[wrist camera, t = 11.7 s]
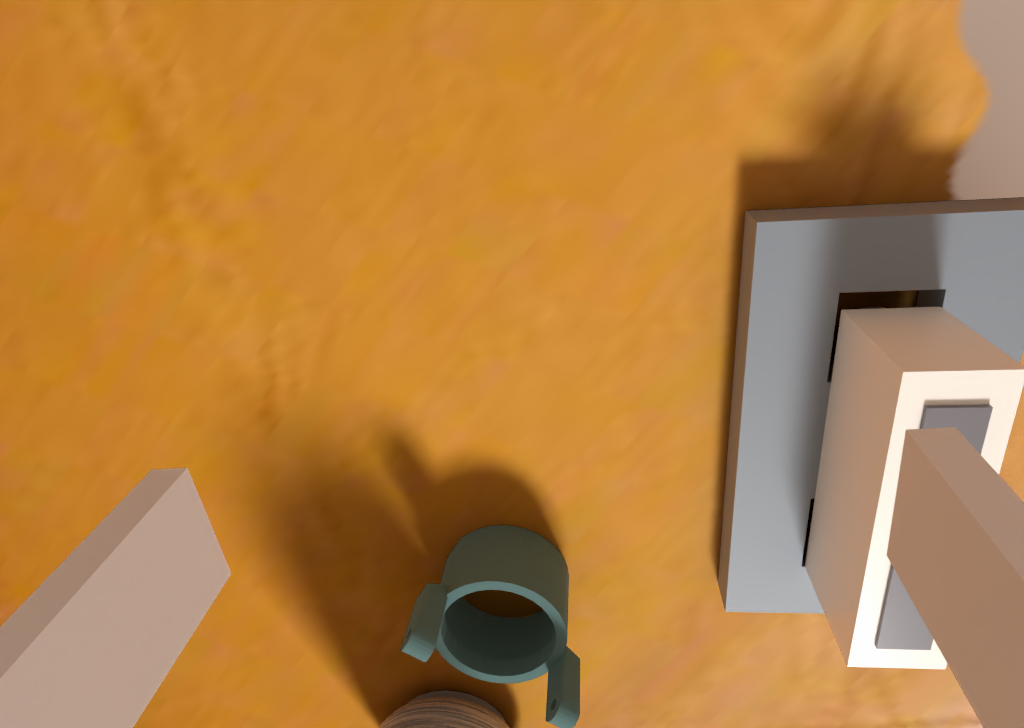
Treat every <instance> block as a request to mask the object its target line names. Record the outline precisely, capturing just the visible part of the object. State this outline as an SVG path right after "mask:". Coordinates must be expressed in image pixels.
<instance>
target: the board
mask: <svg viewBox="0 0 1024 728" xmlns="http://www.w3.org/2000/svg"><path fill="white" fill-rule="evenodd" d="M909 290H919V293H918V298H917V303H916V307H942V308H943V309H944V310H946V311H947V312H949V313H950V314H951V315H953V316H954V317H956V318H957V319H958V320H960V321H961V322H962V323H964V324H965V325H967V326H968V327H969V328H971V329H972V330H974V331H975V332H976V333H978V334H979V335H981V336H982V337H983V338H985V339H986V340H988V341H989V342H990V343H992V344H993V345H994V346H996V347H997V348H999V349H1000V350H1001V351H1003V352H1004V353H1006V354H1007V355H1008V356H1010V357H1011V358H1013V359H1014V360H1015V361H1017V362H1018V363H1020V361H1021V357H1022V353H1023V350H1024V197H1020V198H1001V199H979V200H958V201H937V202H917V203H896V204H875V205H855V206H834V207H814V208H793V209H772V210H752V211H745V223H744V237H743V251H742V264H741V278H740V291H739V305H738V318H737V332H736V345H735V359H734V372H733V386H732V400H731V413H730V427H729V440H728V454H727V467H726V481H725V494H724V508H723V521H722V535H721V549H720V562H719V576H718V585H719V589H720V592H721V596H722V600H723V604H724V608H725V612H770V613H823V614H825V613H824V611H823V609H822V606H821V604H820V602H819V599H818V597H817V594H816V592H815V590H814V587H813V585H812V583H811V580H810V578H809V576H808V573H807V571H806V569H805V564H806V556H807V549H808V542H809V539H805V538H806V530H807V523H808V516H809V509H810V502H811V499H815V493H816V486H817V479H818V471H819V464H820V457H821V450H822V443H823V436H824V429H825V422H826V415H827V408H828V401H829V394H830V387H831V379H832V372H833V365H834V361H830V357H831V350H832V343H833V336H834V329H835V321H836V314H837V307H838V300H839V293H850V292H879V291H909Z"/></svg>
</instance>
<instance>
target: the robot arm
mask: <svg viewBox="0 0 1024 728" xmlns="http://www.w3.org/2000/svg"><path fill="white" fill-rule="evenodd" d="M887 557H888V559H889V560H890V562H891V564H892V566H893V567H894V569H895V571H896V573H897V575H898V576H899V578H900V580H901V582H902V583H903V585H904V587H905V589H906V591H907V592H908V594H909V596H910V598H911V599H912V601H913V603H914V605H915V607H916V608H917V610H918V612H919V614H920V615H921V617H922V619H923V621H924V623H925V624H926V626H927V628H928V630H929V631H930V633H931V635H932V637H933V639H934V640H935V642H936V644H937V646H938V648H939V649H940V651H941V653H942V655H943V656H944V658H945V660H946V662H947V664H948V665H949V667H950V669H951V671H952V672H953V674H954V676H955V678H956V680H957V681H958V683H959V685H960V687H961V688H962V690H963V692H964V694H965V696H966V697H967V699H968V701H969V703H970V704H971V706H972V708H973V710H974V712H975V713H976V715H977V717H978V719H979V720H980V722H981V724H982V726H983V728H1024V502H1023V501H1022V500H1021V499H1020V498H1019V497H1018V496H1017V494H1016V493H1015V492H1014V491H1013V490H1012V489H1011V488H1010V487H1009V486H1008V484H1007V483H1006V482H1005V481H1004V480H1003V479H1002V478H1001V477H1000V476H999V475H998V473H997V472H996V471H995V470H994V469H993V468H992V467H991V466H990V465H989V464H988V462H987V461H986V460H985V459H984V458H983V457H982V456H981V455H980V454H979V453H978V451H977V450H976V449H975V448H974V447H973V446H972V445H971V444H970V443H969V441H968V440H967V439H966V438H965V437H964V436H963V435H962V434H961V433H960V432H959V430H958V429H957V428H956V427H945V428H926V429H907V430H906V432H905V439H904V445H903V451H902V458H901V464H900V471H899V477H898V484H897V490H896V497H895V503H894V510H893V516H892V523H891V529H890V536H889V542H888V549H887ZM230 575H231V572H230V569H229V567H228V564H227V562H226V559H225V557H224V555H223V552H222V550H221V547H220V545H219V543H218V540H217V538H216V535H215V533H214V531H213V528H212V526H211V523H210V521H209V519H208V516H207V514H206V511H205V509H204V507H203V504H202V502H201V499H200V497H199V495H198V492H197V490H196V487H195V485H194V483H193V480H192V478H191V475H190V473H189V471H188V468H173V469H154V470H151V471H150V472H149V473H148V474H147V475H146V476H145V477H144V478H143V479H142V480H141V481H140V482H139V483H138V484H137V485H136V486H135V488H134V489H133V490H132V491H131V492H130V493H129V494H128V495H127V496H126V497H125V498H124V499H123V500H122V501H121V502H120V503H119V504H118V505H117V506H116V507H115V508H114V509H113V510H112V511H111V512H110V513H109V515H108V516H107V517H106V518H105V519H104V520H103V521H102V522H101V523H100V524H99V525H98V526H97V527H96V528H95V529H94V530H93V531H92V532H91V533H90V534H89V535H88V536H87V537H86V538H85V539H84V541H83V542H82V543H81V544H80V545H79V546H78V547H77V548H76V549H75V550H74V551H73V552H72V553H71V554H70V555H69V556H68V557H67V558H66V559H65V560H64V561H63V562H62V563H61V564H60V565H59V567H58V568H57V569H56V570H55V571H54V572H53V573H52V574H51V575H50V576H49V577H48V578H47V579H46V580H45V581H44V582H43V583H42V584H41V585H40V586H39V587H38V588H37V589H36V590H35V591H34V592H33V594H32V595H31V596H30V597H29V598H28V599H27V600H26V601H25V602H24V603H23V604H22V605H21V606H20V607H19V608H18V609H17V610H16V611H15V612H14V613H13V614H12V615H11V616H10V617H9V618H8V620H7V621H6V622H5V623H4V624H3V625H2V626H1V627H0V728H133V727H134V725H135V724H136V722H137V720H138V719H139V717H140V716H141V714H142V713H143V711H144V710H145V708H146V706H147V705H148V703H149V702H150V700H151V699H152V697H153V695H154V694H155V692H156V691H157V689H158V688H159V686H160V684H161V683H162V681H163V680H164V678H165V677H166V675H167V673H168V672H169V670H170V669H171V667H172V666H173V664H174V663H175V661H176V659H177V658H178V656H179V655H180V653H181V652H182V650H183V648H184V647H185V645H186V644H187V642H188V641H189V639H190V637H191V636H192V634H193V633H194V631H195V630H196V628H197V626H198V625H199V623H200V622H201V620H202V619H203V617H204V616H205V614H206V612H207V611H208V609H209V608H210V606H211V605H212V603H213V601H214V600H215V598H216V597H217V595H218V594H219V592H220V590H221V589H222V587H223V586H224V584H225V583H226V581H227V579H228V578H229V576H230Z"/></svg>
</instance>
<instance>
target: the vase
mask: <svg viewBox="0 0 1024 728" xmlns="http://www.w3.org/2000/svg"><path fill="white" fill-rule="evenodd" d="M379 728H510V727H509V726H508V725H507V723H506V721H505V720H504V718H503V716H502V715H501V714H500V713H499V712H498V710H497V709H495V708H494V707H493V706H492V705H490V704H489V703H487V702H486V701H484V700H482V699H480V698H478V697H476V696H473V695H470V694H467V693H464V692H458V691H448V690H442V691H433V692H428V693H424V694H422V695H419V696H417V697H415V698H414V699H412V700H410V701H409V702H408V703H407V704H405V705H404V706H402V707H400V708H399V709H397V710H395V711H394V712H393V713H392V714H390V715H389V716H388V717H387V718H386V719H385V720H384V721H383V722H382V723H381V725H380V726H379Z"/></svg>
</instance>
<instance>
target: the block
mask: <svg viewBox="0 0 1024 728" xmlns="http://www.w3.org/2000/svg"><path fill="white" fill-rule="evenodd" d="M1023 385H1024V366H1022V365H1021V364H1020V363H1018V362H1017V361H1015V360H1014V359H1013V358H1011V357H1010V356H1008V355H1007V354H1006V353H1004V352H1003V351H1001V350H1000V349H999V348H997V347H996V346H994V345H993V344H992V343H990V342H989V341H988V340H986V339H985V338H983V337H982V336H981V335H979V334H978V333H976V332H975V331H974V330H972V329H971V328H969V327H968V326H967V325H965V324H964V323H962V322H961V321H960V320H958V319H957V318H956V317H954V316H953V315H951V314H950V313H949V312H947V311H946V310H944V309H943V308H942V307H912V308H884V307H880V306H866V307H863V308H860V309H849V310H841V316H840V323H839V330H838V337H837V344H836V351H835V358H834V365H833V372H832V379H831V387H830V394H829V401H828V408H827V415H826V422H825V429H824V436H823V443H822V450H821V457H820V464H819V471H818V479H817V486H816V493H815V500H814V507H813V514H812V521H811V528H810V535H809V542H808V549H807V556H806V564H805V569H806V571H807V573H808V576H809V578H810V580H811V583H812V585H813V587H814V590H815V592H816V594H817V597H818V599H819V602H820V604H821V606H822V609H823V611H824V613H825V616H826V618H827V620H828V623H829V625H830V627H831V630H832V632H833V634H834V637H835V639H836V641H837V644H838V646H839V648H840V651H841V653H842V655H843V658H844V660H845V662H846V665H847V667H881V668H917V669H946V665H947V662H946V660H945V658H944V656H943V655H942V653H941V651H940V649H939V648H938V646H937V644H936V642H935V640H934V639H933V637H932V635H931V633H930V631H929V630H928V628H927V626H926V624H925V623H924V621H923V619H922V617H921V615H920V614H919V612H918V610H917V608H916V607H915V605H914V603H913V601H912V599H911V598H910V596H909V594H908V592H907V591H906V589H905V587H904V585H903V583H902V582H901V580H900V578H899V576H898V575H897V573H896V571H895V569H894V567H893V566H892V564H891V562H890V560H889V559H888V557H887V549H888V542H889V536H890V529H891V523H892V516H893V510H894V503H895V497H896V490H897V484H898V477H899V471H900V464H901V458H902V451H903V445H904V439H905V432H906V430H907V429H926V428H945V427H956V428H957V429H958V430H959V432H960V433H961V434H962V435H963V436H964V437H965V438H966V439H967V440H968V441H969V443H970V444H971V445H972V446H973V447H974V448H975V449H976V450H977V451H978V453H979V454H980V455H981V456H982V457H983V458H984V459H985V460H986V461H987V462H988V464H989V465H990V466H991V467H992V468H993V469H994V470H995V471H996V472H997V473H998V475H999V472H1000V469H1001V465H1002V461H1003V458H1004V454H1005V450H1006V447H1007V443H1008V439H1009V436H1010V432H1011V429H1012V425H1013V421H1014V418H1015V414H1016V410H1017V407H1018V403H1019V399H1020V396H1021V392H1022V388H1023Z"/></svg>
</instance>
